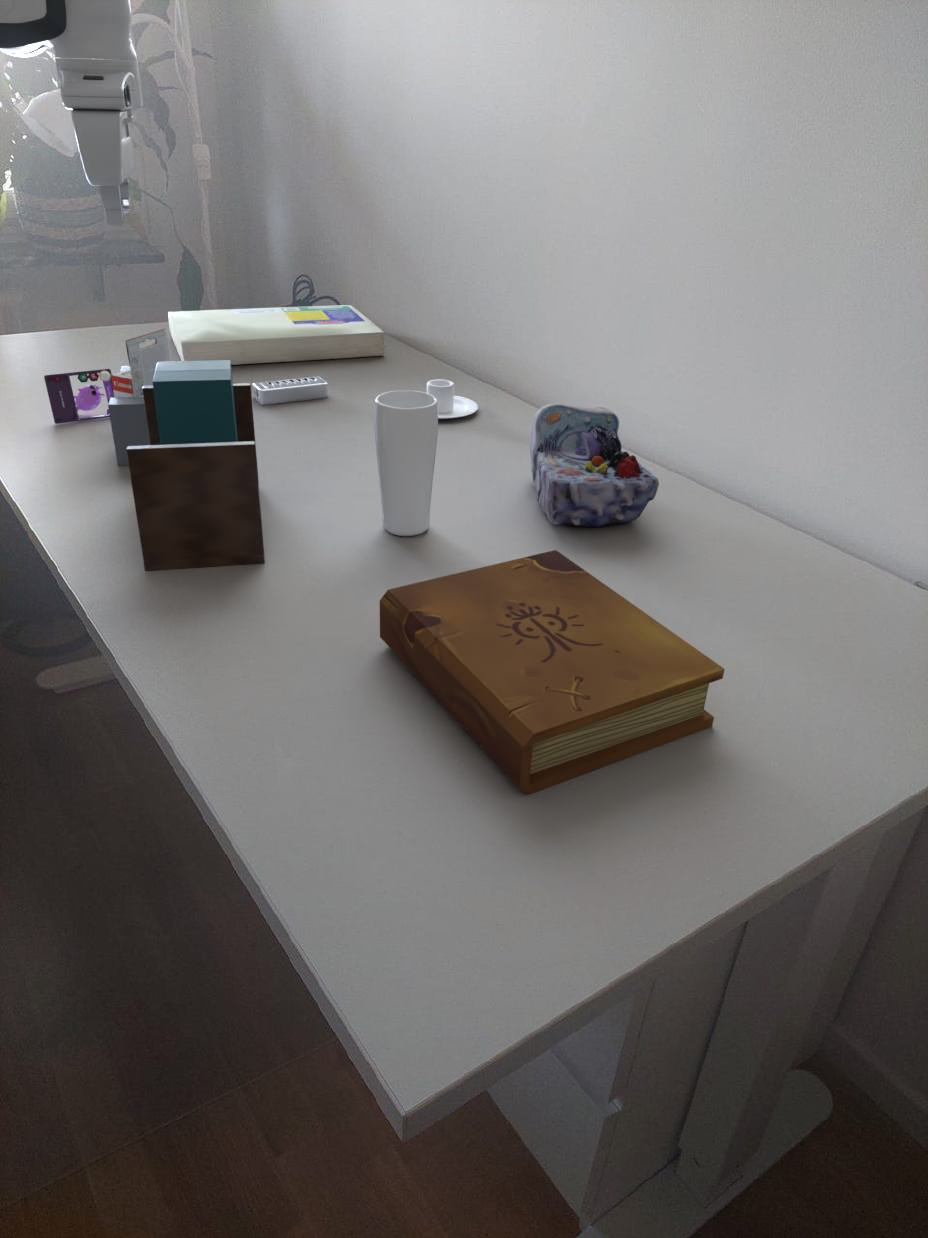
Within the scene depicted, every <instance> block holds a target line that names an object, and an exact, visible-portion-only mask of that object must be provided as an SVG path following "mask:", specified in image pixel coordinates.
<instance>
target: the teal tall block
mask: <svg viewBox="0 0 928 1238" xmlns="http://www.w3.org/2000/svg"><path fill="white" fill-rule="evenodd" d="M233 384H234V381H233V371H232V365H231V360H207V361H181V360H170V361H162V362H157V366H156V370H155V374H154V378H153V390H154V397H155V404H156V412H157V419H158V427H159V434H160V442H161V445H170V444H195V443H220V442H238V435H237V424H236V414H235V403H234V392H233Z"/></svg>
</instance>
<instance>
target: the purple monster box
mask: <svg viewBox="0 0 928 1238" xmlns="http://www.w3.org/2000/svg"><path fill="white" fill-rule="evenodd" d="M111 375H113V374H112V369H110V368H103V369H92V370H84V371H75V372H65V373H53V374H45V375H44V376H43V378H44V383H45V388H46V392H47V396H48V400H49V404H50V409H51V412H52V418H53V422H54V424H55V425H59V424H66V423H68V424H69V423H76V422H83V421H91V420H99V419H100V420H101V419H107V418H110V414H109V408H107V409H106V414H103V415H102V414H101V415H96V416H87V417H79V413H78V412H80V410H81V411H84V412H89V411H93V410H95V409H96V408H97V407H98V406H99V405H100V404H101V401H102V396H103V397H105V396H106V400H107V405H108V404H109V401H110V398H114V391H113V384H112V377H111ZM72 376H73V377H74V376H77V380H78V381H79V382H80V383H82V384H83V383H87V382H88V380H89V381H90V382H98V380H99V379H100V380H101V381H102V384H103V387H104V391H105V394H104V393H101V392H100V389H103V387H102V386H99V385H96V384H91V385H90V384H86V385H84V386H82V387H81V388H76V390H77V391H79V392H78V394H77V395H74V391H73V387H72V382H71V378H70V377H72Z"/></svg>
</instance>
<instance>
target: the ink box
mask: <svg viewBox="0 0 928 1238" xmlns="http://www.w3.org/2000/svg"><path fill="white" fill-rule="evenodd" d="M167 335H168V334H167V331H166V328H162V329H159V330H156V331H153V332H149V333H146V334H142V335H139V336H136V337H133V338H129V339H126V340H125V348H126V354H127V355H126V356H127V358H128V359H127V360H128V364H129V366H130V369H128V370H125V371H122V372H120V371H119V372H116V373H113V374H112V375H111V377H112V384H113V391H114V398H120V397H143V390H142V389H143V386H153V378H154V374H155V370H156V366H157V362H162V361H171V359H170V357H171V356H170V350H169V342H168V336H167ZM147 339H148V340H151V341H152V340H155V341H154V343H152V344H149V345H147V346H144V347H141V348H140V344H142V343H145V342H146V341H147Z"/></svg>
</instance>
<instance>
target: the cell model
mask: <svg viewBox="0 0 928 1238" xmlns="http://www.w3.org/2000/svg"><path fill="white" fill-rule="evenodd" d="M619 428H620V420H619V417H618V415H617V414H616V413H615V412H613V411H611V409H608V408H606V407H603V406H581V405H580V406H579V405H571V404H563V403H562V404H560V403H551V404H546V405H543V406H541V408H540V409H538V410H537V412H536V413H535V415H534V417H533V421H532V426H531V431H530V438H529V453H530V460H531V461H530V472H531V476H532V481H533V483H534V485H533V486H534V490H535V491H536V494H537V496H536V497H537V498H536V499H537V501H538V506H539V507H540V509H542V511H543V512H544V513H545V514H546V517H547V519H548V521H549V522H550V523H551V524H552V525H569V526H574V527H584V528H585V527H586V528H587V527H589V528H601V527H604V526H607V525H611V524H626V523H631V522H634V521H636V520H638V518H640V516H641V515H642V513H643V512H644V510H645V508H647V505H648V504H649V502H650V501H653V500H654V499H655V498H656V495H657V491H658V489H659V486H660V482H659V479H658V477H657V476H655V474H653V472H652V471H651V470H649V469H648V468H646V467H644V466H643V465H642V464H641V463H640V462H639V461H638V460H637V457H636V455H630V453H629V452H628V451H622V447H623V446H622V442H621V440H620V438H619V433H618V432H619Z"/></svg>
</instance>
